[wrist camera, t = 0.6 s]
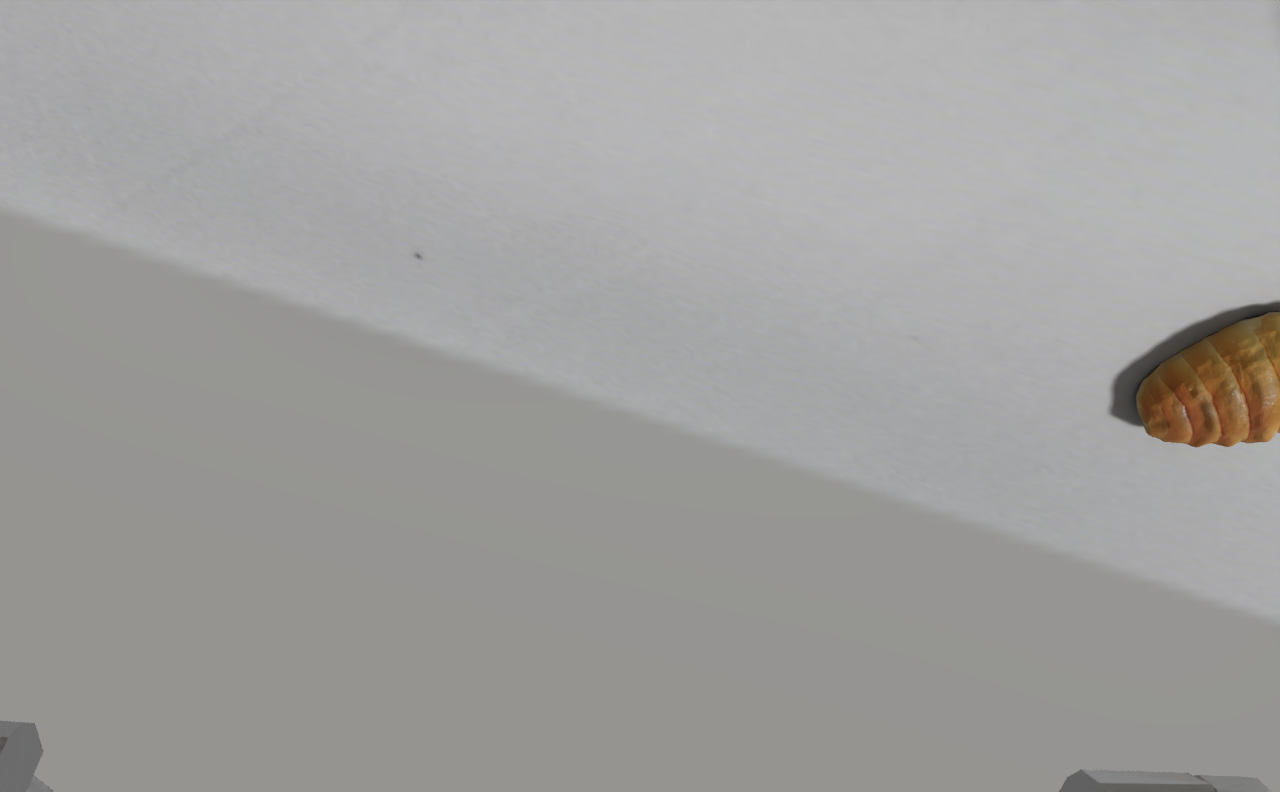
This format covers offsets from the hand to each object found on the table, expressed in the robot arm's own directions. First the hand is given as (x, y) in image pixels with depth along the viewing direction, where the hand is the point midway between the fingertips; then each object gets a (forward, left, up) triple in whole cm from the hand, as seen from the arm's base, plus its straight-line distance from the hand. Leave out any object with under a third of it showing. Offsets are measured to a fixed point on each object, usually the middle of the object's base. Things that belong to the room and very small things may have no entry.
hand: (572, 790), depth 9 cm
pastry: (+9, +41, -43) cm, 60 cm away
